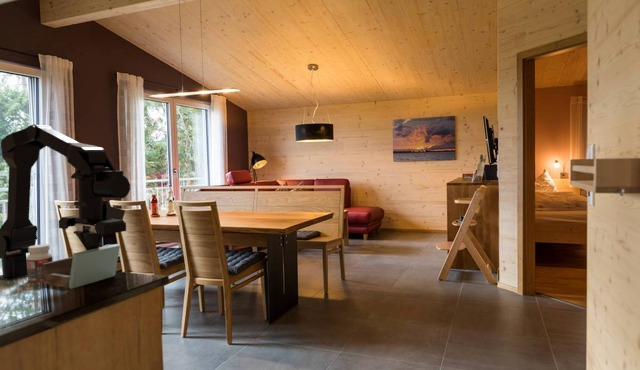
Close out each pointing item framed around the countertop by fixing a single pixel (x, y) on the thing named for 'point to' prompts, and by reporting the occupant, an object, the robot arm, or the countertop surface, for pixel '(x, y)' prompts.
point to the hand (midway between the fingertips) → (93, 257)
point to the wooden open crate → (57, 272)
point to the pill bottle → (37, 262)
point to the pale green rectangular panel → (93, 265)
